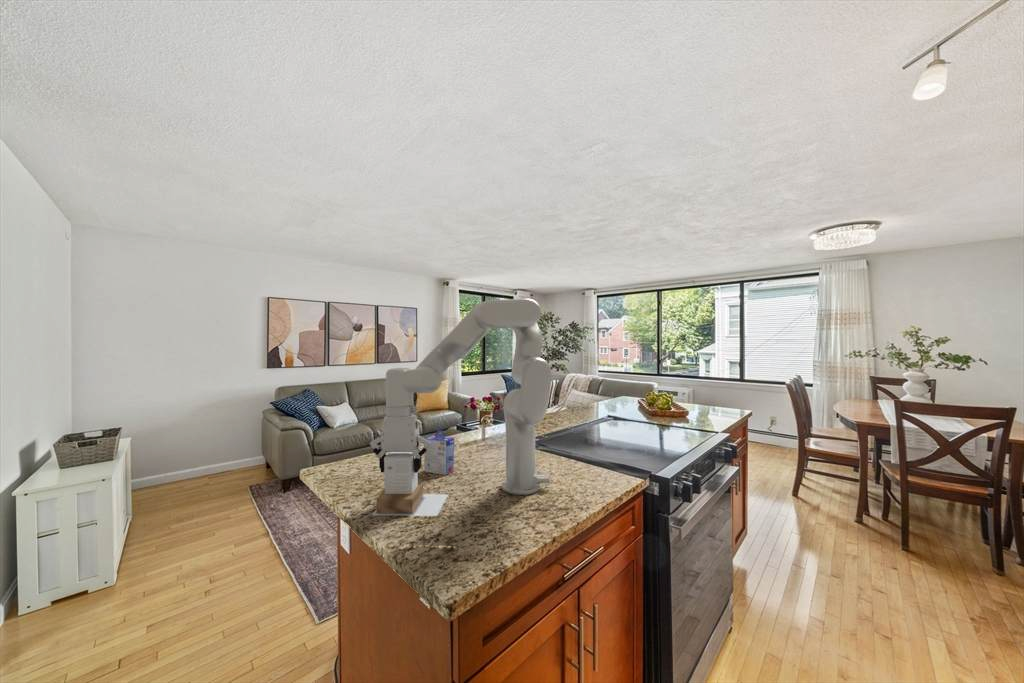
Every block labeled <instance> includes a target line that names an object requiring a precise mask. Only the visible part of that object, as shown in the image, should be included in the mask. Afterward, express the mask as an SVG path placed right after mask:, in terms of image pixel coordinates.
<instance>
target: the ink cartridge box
mask: <svg viewBox="0 0 1024 683" xmlns="http://www.w3.org/2000/svg"><path fill="white" fill-rule="evenodd" d="M439 433H441V434H439ZM445 435H446V430H440V429H438V430H437V431H436V434H435V435H430V436H428V437H427V436H426V437H425V439H427V440H429V441H430V442H431V444H430V446H429V447H428V449H427V451H426V452H425V453H424V454H423V455H424V456H423V457H424V458H423V460H424V464H423V466H424V467H423V468H424V469H423V471H424V472H426V473H431V474H432V473H433V474H439V475H444V476H446V475H447V476H448V474H451V473H453V472H454V471H455V438H454V437H451V436H450V437H448V436H445Z"/></svg>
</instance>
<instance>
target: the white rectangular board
mask: <svg viewBox="0 0 1024 683" xmlns="http://www.w3.org/2000/svg"><path fill="white" fill-rule="evenodd" d="M448 496H449V493H448V494H445V493H444V494H443V493H442V494H438V493H423V499H422V500H421V502H420V503H419V505H418V506H417V508H416V509H415V511H414V512H413V514H405V513H377V508H376V509H375V510H374V511H373V513H372V514H371V515H372V516H416V517H417V516H418V517H420V516H421V517H437V516H438V515H439V513H440V511H441V509H442V508H443V505H444V503H445V502H446V500H447V498H448Z"/></svg>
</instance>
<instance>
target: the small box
mask: <svg viewBox="0 0 1024 683" xmlns="http://www.w3.org/2000/svg"><path fill="white" fill-rule="evenodd" d="M415 458H416V457H415V456H414V454H413V453H412V452H388V453H387V456H385V457H384V472H383V474H384V478H383V479H384V490H385V494H412V493H413V492H414V491H415V489H416V488H417V487H418V485H419V484H418V483H419V482H418V480H419V478H418V472H417V473H415V472H414V459H415Z"/></svg>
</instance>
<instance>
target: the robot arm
mask: <svg viewBox="0 0 1024 683" xmlns="http://www.w3.org/2000/svg"><path fill="white" fill-rule="evenodd" d="M541 316H542V309H541V306H540V305H539V303H538V302H537V301H535V300H534V299H532V298H512V299H511V298H509V299H507V298H506V299H489V300H485V301H481V302H478V303H477V304H476V305H475V306H473V307H472V309H470V311H469V312H468V313H467V314H466V315H465V316H464V317H463V318H462V319H461V320H460V322H459V323H458V324H457V325H456V326H455V327H454V328H453V329H452V330H451V331H450V332H449V333H448V334H447V336H445V337H444V338H443V339H442V340H441V341H440V342H439V343H438V344H437V345H436V346H435V347H434V348H433V349H432V350H431V352H429V353H428V354H427V355H426V357H424V358H423V360H422V361H421V362H420V363H419V364H418V365H417V366H416V367H415V368H413V369H412V368H409V367H393V368H389V369H387V371H386V372H385V402H386V403H385V404H386V406H385V407H386V408H385V409H386V410H385V413H386V415H385V416H384V417H383V421H382V426H381V433H380V434H381V436H379V437H377V438H375V439H373V440H372V441H369V445H370V447H371V448H372V449H371V450H372V452H373V453H375V456H377V458H378V459H379V460H378V461H379V462H378V464H379V465H378V466H379V469H380V473H384V457H385V456H387V455H388V453H390V452H412V453H413V454H414V456H415V457H416V458H415V459H414V472H415V473H417V474H418V472H419V471H420V469H422V456H423V455H424V453H425V452H426V451H427V449H428V447H429V446H430V444H431V442H430V441H429V440H427V439H425V438H426V437H425V438H424V437H423V436H421V435H420V434H421V433H420V427H419V421H418V415H417V414H416V413H418V412H419V407H418V406H415V403H414V393H415V394H416V393H417V394H432V393H435V392H436V391H438V390H439V388H441V385H442V384H443V382H442V379H443V378H442V375H443V374H444V372H446V370H448V369H449V368H450V366H452V365H453V364H455V362H458V361H459V360H462V359H463V358H465V357H466V356H468V355H469V354H470V353H471V352H472V351H473V350H474V349H475V348H476V346H478V344H479V343H480V342H481V341H482V340H483V339H484V337H485V336H487V334H488V333H489V332H490V331H491V330H492V329H508V328H509V329H510V328H511V329H512V330H513V333H514V336H515V347H514V348H515V349H514V353H513V354H514V355H513V360H512V368H511V377H512V379H513V381H515V383H517V384H518V385H520V388H515V389H514V388H513V389H512V390H510V391H509V392H508V393H507V394H506V395H505V397H504V399H503V404H502V406H503V409H502V410H503V415H504V416H503V417H504V423H505V425H504V426H505V479H504V480H503V481H502V482H501V485H500V486H501V490H502V491H503V492H505V493H507V494H510V495H517V496H521V495H522V496H523V495H531V494H532V495H533V494H535V493H537V492H539V490H540V489H541V484H551V483H550V481H551V480H550V478H551V477H550V476H546V475H545V474H540V475H539V474H537V470H536V428H535V425H537V424H539V423H540V422H542V421H543V420H544V418H545V416H546V414H547V410H548V406H549V402H550V401H549V398H550V393H551V386H552V380H553V379H552V376H553V375H552V374H553V373H552V369H551V366H550V364H549V363H548V361H546V360H545V359H544V358H542V346H543V336H542V331H541V328H540V326H539V325H538V322H539V321H540V319H541ZM379 443H380V447H381V448H380V447H379V446H378V444H379ZM421 444H422V445H423V448H422V449H421V448H420V446H421ZM386 454H387V455H386Z"/></svg>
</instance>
